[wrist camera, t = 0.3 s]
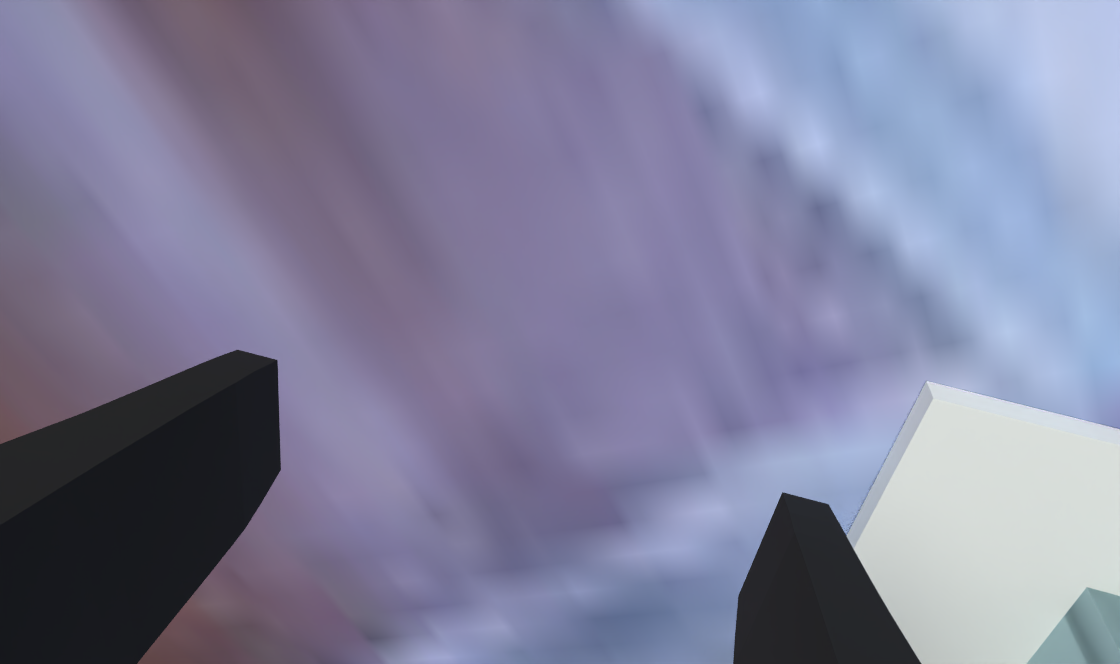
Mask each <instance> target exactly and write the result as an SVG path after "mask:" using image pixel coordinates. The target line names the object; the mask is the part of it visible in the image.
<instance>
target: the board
mask: <svg viewBox="0 0 1120 664" xmlns="http://www.w3.org/2000/svg"><path fill="white" fill-rule="evenodd" d="M847 538H848V540H849V542H850V544H851V545H852V547H853V549H854V551H855V552H856V554H857V556H858V558H859V560H860V561H861V563H862V565H863V567H864V568H865V570H866V572H867V574H868V575H869V577H870V579H871V581H872V583H873V584H874V586H875V588H876V590H877V591H878V593H879V595H880V596H881V598H882V600H883V602H884V603H885V605H886V607H887V608H888V610H889V612H890V613H891V615H892V617H893V618H894V620H895V622H896V623H897V625H898V626H899V628H900V630H901V631H902V633H903V635H904V636H905V638H906V640H907V641H908V643H909V644H910V646H911V648H912V649H913V651H914V653H915V654H916V656H917V657H918V659H919V661H920V662H921V664H1027V663H1028V661H1029V660H1030V659H1031V657H1032V656H1033V655H1034V654H1035V652H1036V651H1037V650H1038V649H1039V647H1040V646H1041V645H1042V643H1043V642H1044V641H1045V640H1046V638H1047V637H1048V636H1049V635H1050V633H1051V632H1052V631H1053V629H1054V628H1055V627H1056V626H1057V624H1058V623H1059V622H1060V620H1061V619H1062V618H1063V617H1064V615H1065V614H1066V613H1067V612H1068V610H1069V609H1070V608H1071V606H1072V605H1073V604H1074V603H1075V601H1076V600H1077V599H1078V598H1079V596H1080V595H1081V594H1082V592H1083V591H1084V590H1085V589H1086V587H1088V588H1092V589H1096V590H1099V591H1103V592H1107V593H1110V594H1114V595H1118V596H1120V429H1116V428H1112V427H1108V426H1104V425H1100V424H1097V423H1093V422H1089V421H1085V420H1081V419H1077V418H1073V417H1069V416H1065V415H1061V414H1057V413H1053V412H1049V411H1045V410H1041V409H1037V408H1033V407H1029V406H1025V405H1021V404H1017V403H1013V402H1009V401H1005V400H1001V399H997V398H993V397H989V396H985V395H981V394H977V393H973V392H969V391H965V390H961V389H957V388H953V387H949V386H945V385H941V384H937V383H933V382H929V381H926V383H925V385H924V387H923V389H922V390H921V392H920V394H919V396H918V398H917V400H916V402H915V404H914V406H913V408H912V410H911V412H910V414H909V416H908V418H907V420H906V422H905V423H904V425H903V427H902V429H901V431H900V433H899V435H898V437H897V439H896V441H895V443H894V445H893V447H892V449H891V451H890V453H889V454H888V456H887V458H886V460H885V462H884V464H883V466H882V468H881V470H880V472H879V474H878V476H877V478H876V480H875V482H874V484H873V486H872V487H871V489H870V491H869V493H868V495H867V497H866V499H865V501H864V503H863V505H862V507H861V509H860V511H859V513H858V515H857V517H856V519H855V520H854V522H853V524H852V526H851V528H850V530H849V532H848V534H847Z"/></svg>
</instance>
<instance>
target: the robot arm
mask: <svg viewBox="0 0 1120 664" xmlns="http://www.w3.org/2000/svg"><path fill="white" fill-rule="evenodd" d="M280 470H281V463H280V430H279V397H278V364H277V360H275V359H271V358H267V357H263V356H259V355H256V354H252V353H248V352H244V351H240V350H236V351H233V352H230V353H227V354H224V355H222V356H219V357H216V358H214V359H211V360H209V361H206V362H204V363H201V364H199V365H197V366H194V367H192V368H189V369H187V370H185V371H182V372H180V373H178V374H175V375H173V376H171V377H168V378H166V379H163V380H161V381H159V382H156V383H154V384H152V385H149V386H147V387H145V388H142V389H140V390H137V391H135V392H133V393H130V394H128V395H125V396H123V397H121V398H118V399H116V400H113V401H111V402H109V403H106V404H104V405H101V406H99V407H97V408H94V409H92V410H89V411H87V412H84V413H82V414H79V415H77V416H74V417H71V418H69V419H66V420H63V421H61V422H58V423H55V424H53V425H50V426H47V427H45V428H42V429H39V430H37V431H34V432H31V433H29V434H26V435H24V436H21V437H18V438H16V439H13V440H10V441H8V442H5V443H2V444H0V664H137V663H138V662H139V660H140V659H141V658H142V657H143V655H144V654H145V653H146V652H147V650H148V649H149V648H150V647H151V645H152V644H153V643H154V642H155V640H156V639H157V638H158V637H159V636H160V634H161V633H162V632H163V631H164V629H165V628H166V627H167V626H168V624H169V623H170V622H171V621H172V619H173V618H174V617H175V616H176V615H177V613H178V612H179V611H180V610H181V608H182V607H183V606H184V605H185V603H186V602H187V601H188V600H189V598H190V597H191V596H192V595H193V594H194V592H195V591H196V590H197V589H198V587H199V586H200V585H201V584H202V582H203V581H204V580H205V579H206V577H207V576H208V575H209V574H210V572H211V571H212V570H213V569H214V567H215V566H216V565H217V564H218V562H219V561H220V560H221V559H222V557H223V556H224V555H225V554H226V552H227V551H228V550H229V549H230V547H231V546H232V545H233V544H234V542H235V541H236V540H237V538H238V537H239V536H240V535H241V533H242V532H243V531H244V529H245V528H246V526H247V525H248V523H249V521H250V520H251V518H252V517H253V515H254V514H255V512H256V510H257V509H258V507H259V506H260V504H261V502H262V501H263V499H264V497H265V496H266V494H267V492H268V491H269V489H270V487H271V485H272V484H273V482H274V480H275V479H276V477H277V475H278V474H279V472H280ZM733 664H921V662H920V661H919V659H918V657H917V656H916V654H915V653H914V651H913V649H912V648H911V646H910V644H909V643H908V641H907V640H906V638H905V636H904V635H903V633H902V631H901V630H900V628H899V626H898V625H897V623H896V622H895V620H894V618H893V617H892V615H891V613H890V612H889V610H888V608H887V607H886V605H885V603H884V602H883V600H882V598H881V596H880V595H879V593H878V591H877V590H876V588H875V586H874V584H873V583H872V581H871V579H870V577H869V575H868V574H867V572H866V570H865V568H864V567H863V565H862V563H861V561H860V560H859V558H858V556H857V554H856V552H855V551H854V549H853V547H852V545H851V544H850V542H849V540H848V538H847V536H846V535H845V533H844V531H843V529H842V527H841V526H840V524H839V522H838V520H837V519H836V517H835V515H834V513H833V512H832V510H831V508H830V506H829V505H828V504H825V503H821V502H817V501H813V500H810V499H806V498H802V497H798V496H794V495H790V494H787V493H783V492H782V495H781V497H780V499H779V502H778V504H777V506H776V509H775V511H774V514H773V516H772V518H771V521H770V523H769V525H768V528H767V530H766V532H765V535H764V537H763V539H762V542H761V544H760V547H759V549H758V551H757V554H756V556H755V558H754V561H753V563H752V565H751V568H750V570H749V572H748V575H747V577H746V580H745V582H744V584H743V587H742V589H741V591H740V594H739V597H738V609H737V620H736V632H735V647H734V662H733Z"/></svg>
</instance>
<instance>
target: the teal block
mask: <svg viewBox="0 0 1120 664" xmlns="http://www.w3.org/2000/svg"><path fill="white" fill-rule="evenodd" d="M1027 664H1120V596H1118V595H1114V594H1110V593H1107V592H1103V591H1099V590H1096V589H1092V588H1088V587H1086V589H1085V590H1084V591H1083V592H1082V594H1081V595H1080V596H1079V598H1078V599H1077V600H1076V601H1075V603H1074V604H1073V605H1072V606H1071V608H1070V609H1069V610H1068V612H1067V613H1066V614H1065V615H1064V617H1063V618H1062V619H1061V620H1060V622H1059V623H1058V624H1057V626H1056V627H1055V628H1054V629H1053V631H1052V632H1051V633H1050V635H1049V636H1048V637H1047V638H1046V640H1045V641H1044V642H1043V643H1042V645H1041V646H1040V647H1039V649H1038V650H1037V651H1036V652H1035V654H1034V655H1033V656H1032V657H1031V659H1030V660H1029V661H1028V663H1027Z"/></svg>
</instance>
